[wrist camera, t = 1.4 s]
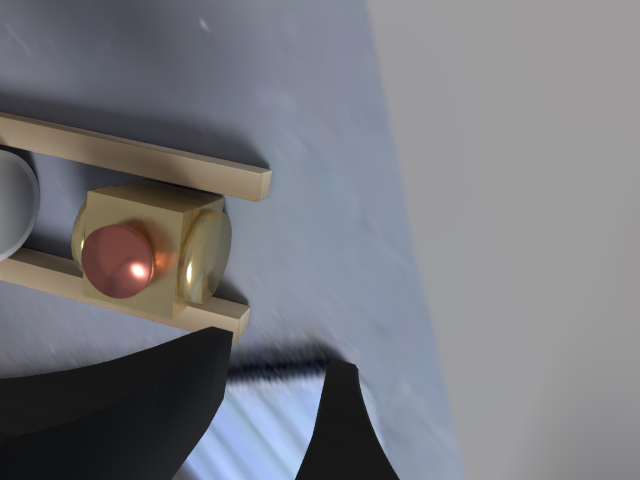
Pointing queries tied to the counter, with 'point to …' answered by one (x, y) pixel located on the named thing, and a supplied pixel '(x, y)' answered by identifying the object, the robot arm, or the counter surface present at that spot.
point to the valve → (151, 246)
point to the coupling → (16, 202)
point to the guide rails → (137, 160)
